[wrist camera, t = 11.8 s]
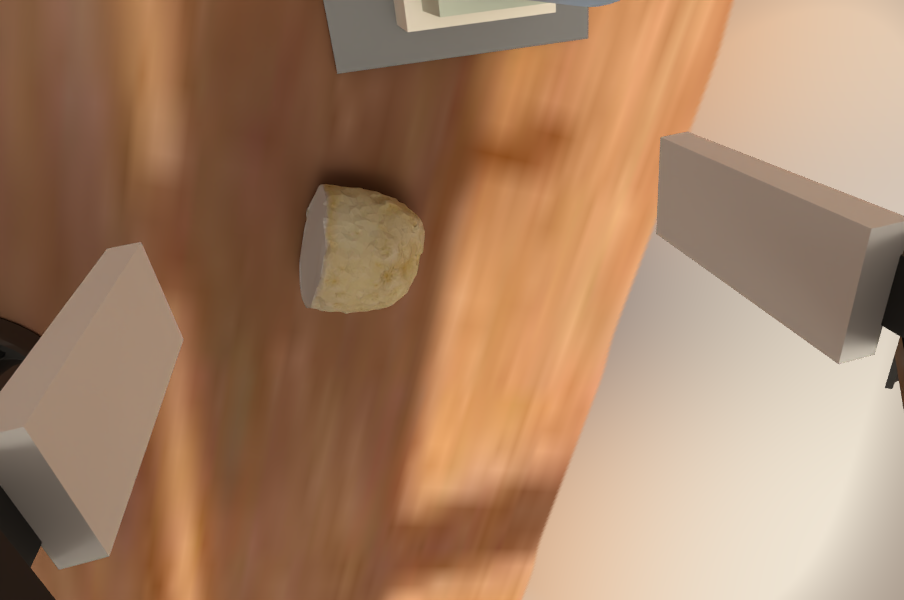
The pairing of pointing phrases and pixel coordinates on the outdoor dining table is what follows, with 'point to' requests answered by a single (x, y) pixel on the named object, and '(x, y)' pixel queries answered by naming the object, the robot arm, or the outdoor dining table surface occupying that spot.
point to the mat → (436, 34)
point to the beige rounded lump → (358, 250)
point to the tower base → (417, 20)
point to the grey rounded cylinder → (580, 2)
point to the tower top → (470, 6)
